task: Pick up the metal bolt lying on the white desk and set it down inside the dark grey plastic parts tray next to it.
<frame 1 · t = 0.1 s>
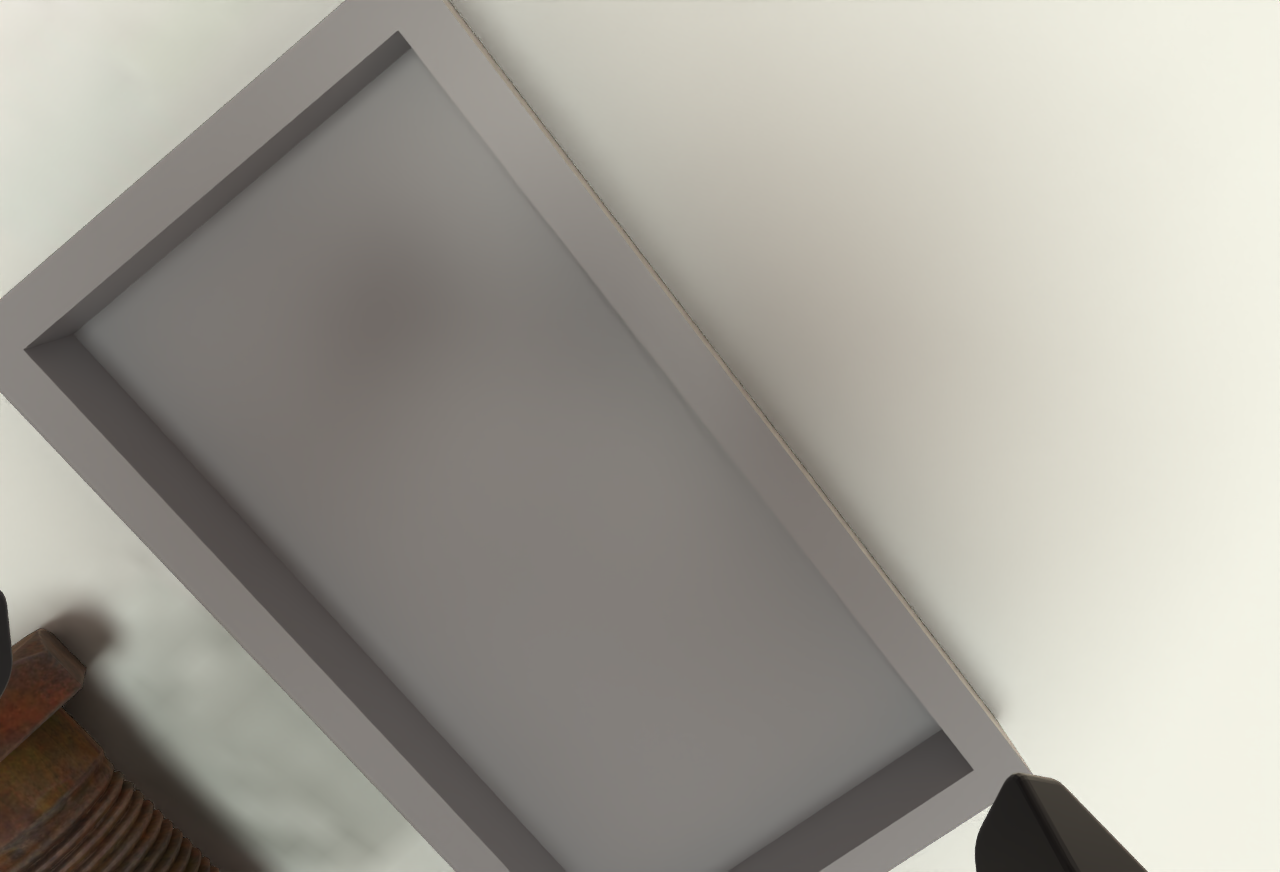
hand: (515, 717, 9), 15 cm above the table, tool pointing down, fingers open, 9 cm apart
parts tray: (536, 533, 25), on the table
bolt: (206, 864, 28), on the table
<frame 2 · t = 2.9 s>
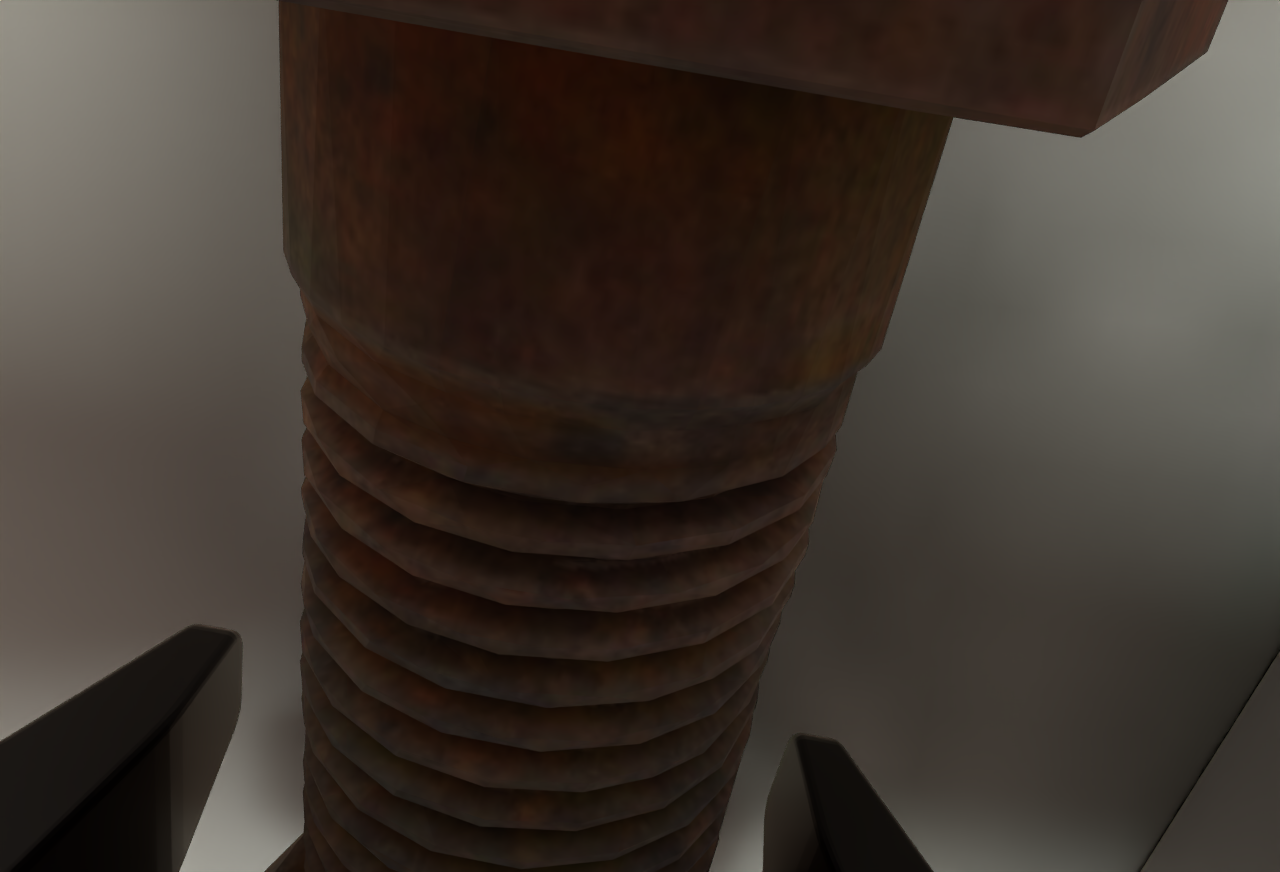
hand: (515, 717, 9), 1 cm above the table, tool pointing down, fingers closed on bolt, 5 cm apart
bolt: (541, 584, 10), on the table, touching gripper
when the fingers open (3 cm above the table, at t = 7.4 s): bolt drops 1 cm, resting on parts tray.
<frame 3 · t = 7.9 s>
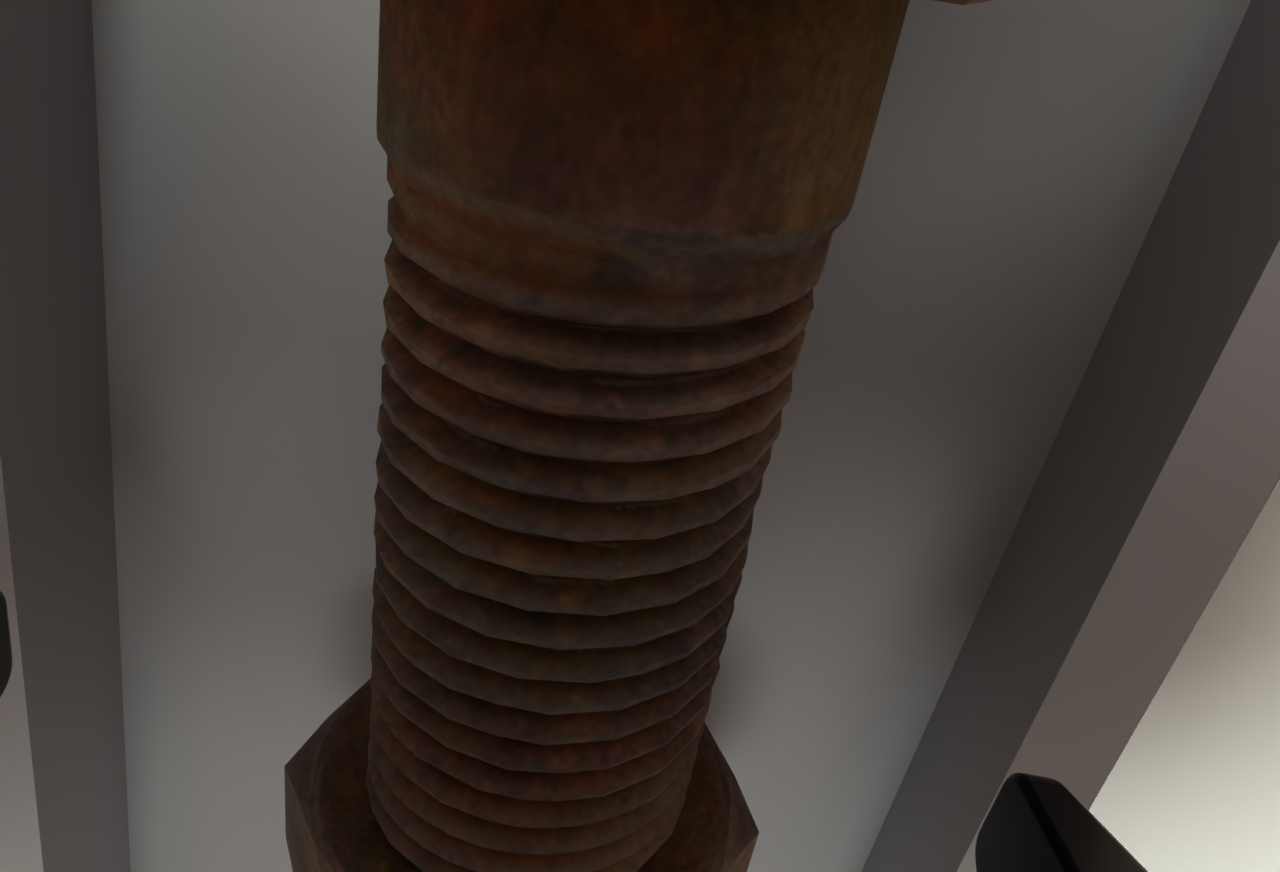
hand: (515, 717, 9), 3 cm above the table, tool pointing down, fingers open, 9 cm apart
parts tray: (560, 506, 12), on the table
bolt: (564, 476, 12), resting on parts tray
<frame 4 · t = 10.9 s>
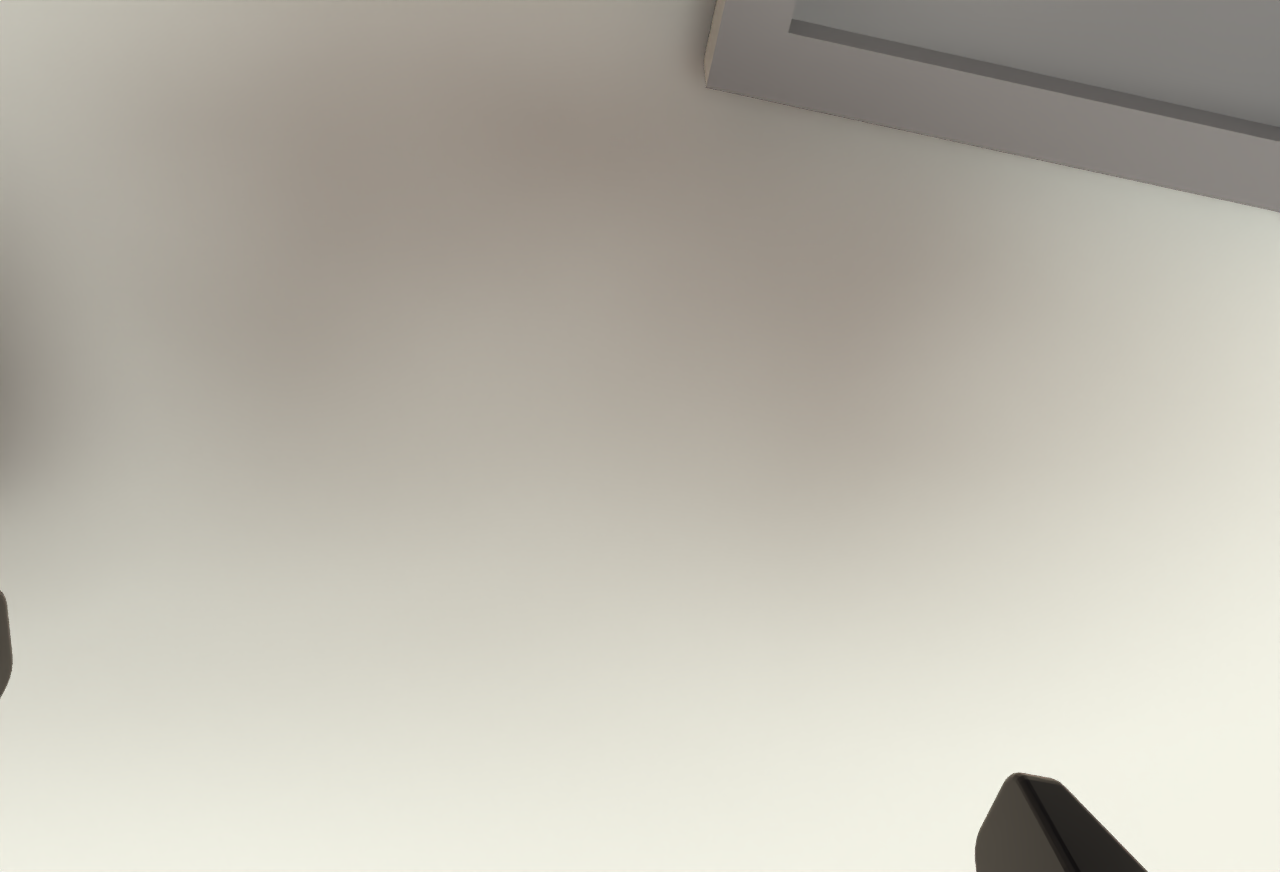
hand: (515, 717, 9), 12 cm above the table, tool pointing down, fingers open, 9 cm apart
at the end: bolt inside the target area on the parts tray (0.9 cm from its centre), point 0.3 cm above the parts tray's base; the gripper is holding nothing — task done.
